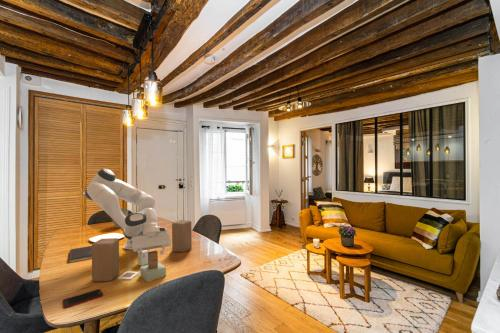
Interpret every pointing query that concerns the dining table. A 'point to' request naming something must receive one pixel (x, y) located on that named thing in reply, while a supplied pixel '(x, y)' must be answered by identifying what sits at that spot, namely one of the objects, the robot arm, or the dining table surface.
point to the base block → (152, 272)
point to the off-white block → (143, 260)
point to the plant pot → (124, 214)
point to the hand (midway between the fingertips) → (153, 255)
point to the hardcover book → (80, 254)
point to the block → (181, 236)
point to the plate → (106, 236)
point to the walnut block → (152, 259)
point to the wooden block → (105, 259)
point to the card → (128, 275)
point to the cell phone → (82, 298)
